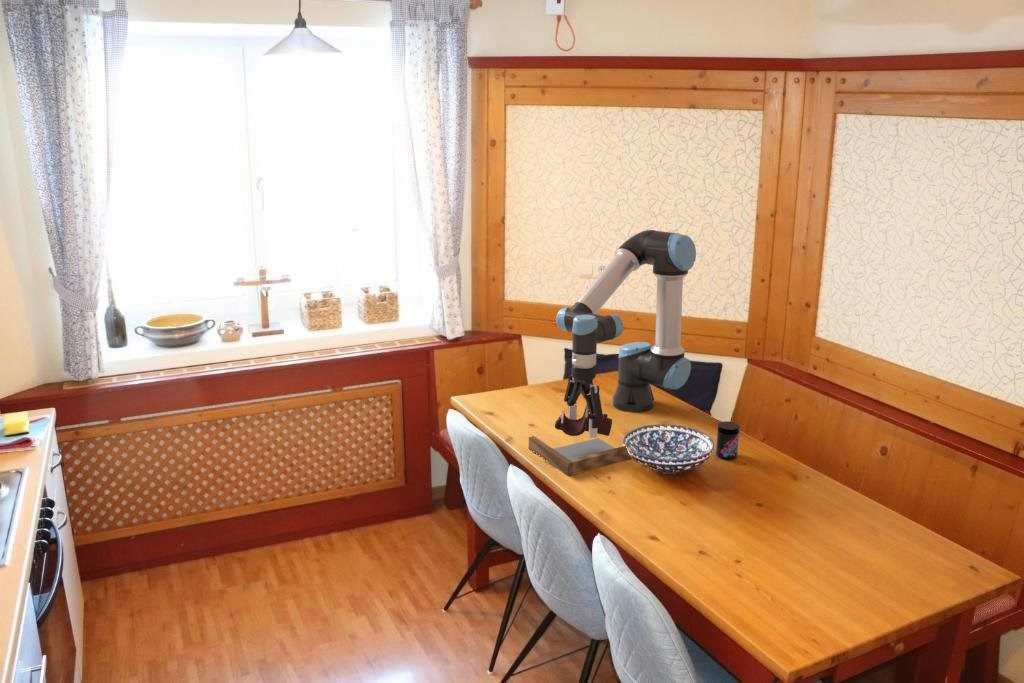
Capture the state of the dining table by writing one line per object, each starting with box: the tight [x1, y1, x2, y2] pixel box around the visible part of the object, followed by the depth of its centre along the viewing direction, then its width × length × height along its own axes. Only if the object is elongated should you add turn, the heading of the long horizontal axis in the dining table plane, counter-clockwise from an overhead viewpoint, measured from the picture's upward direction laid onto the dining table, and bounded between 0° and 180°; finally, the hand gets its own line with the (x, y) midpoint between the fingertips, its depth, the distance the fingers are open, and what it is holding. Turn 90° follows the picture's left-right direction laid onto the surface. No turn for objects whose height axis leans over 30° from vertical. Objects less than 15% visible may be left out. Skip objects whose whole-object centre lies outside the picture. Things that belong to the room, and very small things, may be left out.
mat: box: [553, 437, 616, 460], centre depth 276 cm, size 20×11×1 cm, turn 119°
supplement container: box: [715, 420, 741, 461], centre depth 270 cm, size 7×7×10 cm
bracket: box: [554, 404, 613, 437], centre depth 272 cm, size 6×17×10 cm
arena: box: [528, 435, 633, 477], centre depth 273 cm, size 24×23×4 cm
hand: (582, 430), depth 273 cm, fingers closed on bracket, 11 cm apart
